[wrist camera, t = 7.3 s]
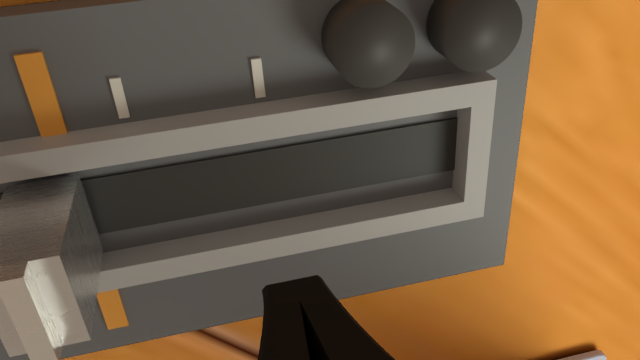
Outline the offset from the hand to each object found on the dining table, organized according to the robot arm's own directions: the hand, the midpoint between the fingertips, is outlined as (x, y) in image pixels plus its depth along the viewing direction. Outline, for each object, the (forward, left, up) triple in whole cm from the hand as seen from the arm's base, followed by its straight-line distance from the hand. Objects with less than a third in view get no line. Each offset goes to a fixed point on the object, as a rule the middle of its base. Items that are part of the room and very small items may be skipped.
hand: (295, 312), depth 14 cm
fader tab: (0, +6, -6) cm, 9 cm away
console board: (0, +2, -8) cm, 8 cm away
